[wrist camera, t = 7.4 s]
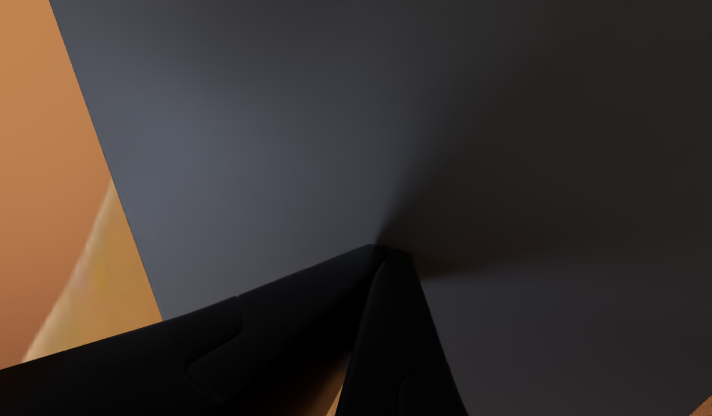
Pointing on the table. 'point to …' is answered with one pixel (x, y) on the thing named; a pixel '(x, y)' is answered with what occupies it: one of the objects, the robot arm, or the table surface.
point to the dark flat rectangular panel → (432, 172)
